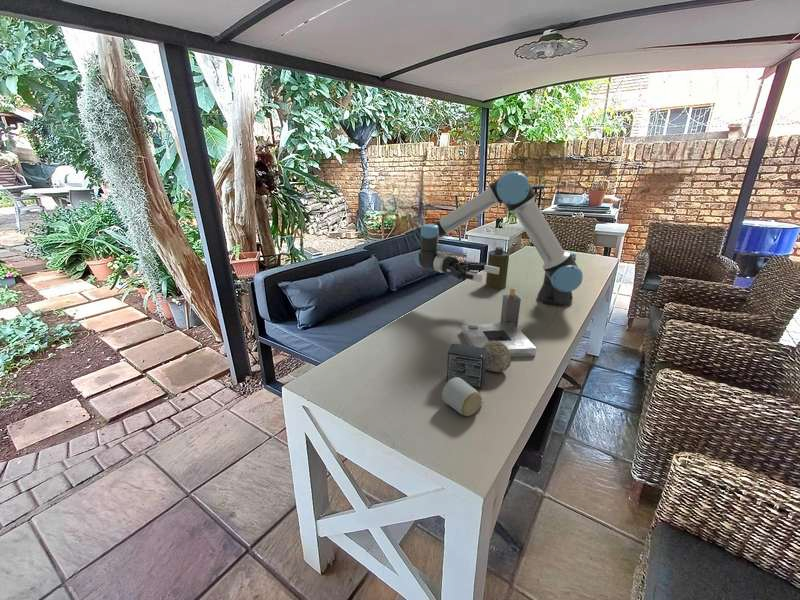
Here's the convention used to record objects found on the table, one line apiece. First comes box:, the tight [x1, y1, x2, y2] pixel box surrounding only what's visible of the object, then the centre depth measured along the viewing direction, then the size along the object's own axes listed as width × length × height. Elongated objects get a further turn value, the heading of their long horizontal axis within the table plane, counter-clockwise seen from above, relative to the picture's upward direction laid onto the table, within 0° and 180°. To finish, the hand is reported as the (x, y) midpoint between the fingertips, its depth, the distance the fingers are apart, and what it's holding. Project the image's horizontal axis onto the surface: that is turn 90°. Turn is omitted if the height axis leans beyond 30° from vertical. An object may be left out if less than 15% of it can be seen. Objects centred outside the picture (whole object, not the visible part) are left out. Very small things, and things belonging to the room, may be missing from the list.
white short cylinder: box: [441, 377, 484, 417], centre depth 97 cm, size 11×8×8 cm
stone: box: [483, 341, 512, 373], centre depth 113 cm, size 6×10×10 cm, turn 51°
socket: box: [461, 322, 537, 358], centre depth 131 cm, size 20×20×4 cm
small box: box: [445, 343, 487, 390], centre depth 107 cm, size 11×6×10 cm, turn 71°
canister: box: [485, 246, 511, 290], centre depth 186 cm, size 11×10×20 cm
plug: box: [499, 288, 522, 327], centre depth 142 cm, size 5×5×15 cm
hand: (490, 274), depth 144 cm, fingers open, 13 cm apart
